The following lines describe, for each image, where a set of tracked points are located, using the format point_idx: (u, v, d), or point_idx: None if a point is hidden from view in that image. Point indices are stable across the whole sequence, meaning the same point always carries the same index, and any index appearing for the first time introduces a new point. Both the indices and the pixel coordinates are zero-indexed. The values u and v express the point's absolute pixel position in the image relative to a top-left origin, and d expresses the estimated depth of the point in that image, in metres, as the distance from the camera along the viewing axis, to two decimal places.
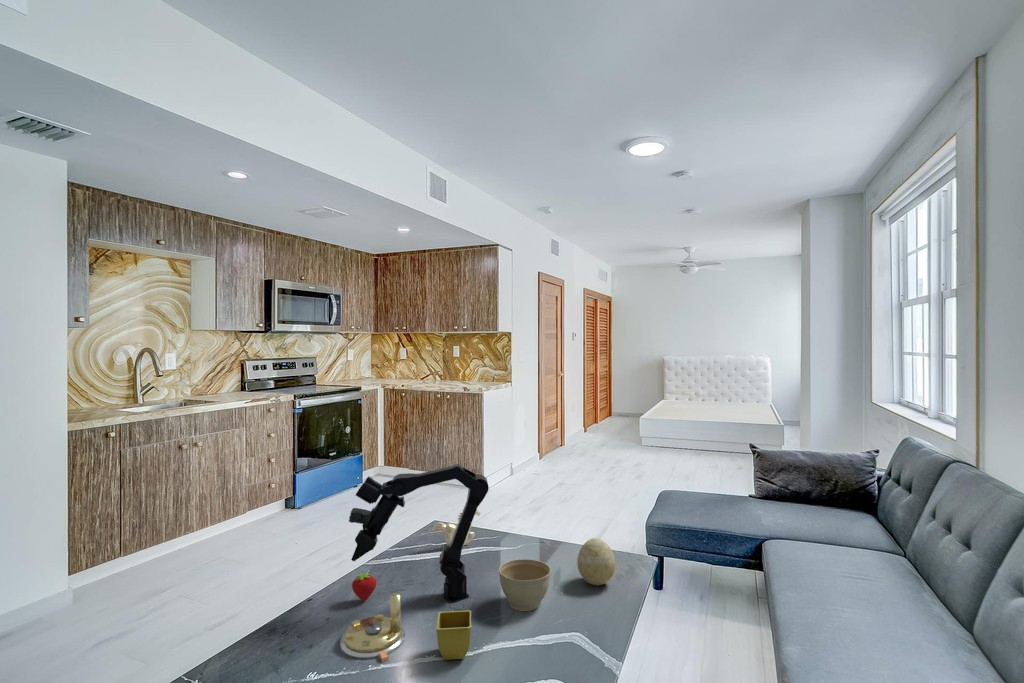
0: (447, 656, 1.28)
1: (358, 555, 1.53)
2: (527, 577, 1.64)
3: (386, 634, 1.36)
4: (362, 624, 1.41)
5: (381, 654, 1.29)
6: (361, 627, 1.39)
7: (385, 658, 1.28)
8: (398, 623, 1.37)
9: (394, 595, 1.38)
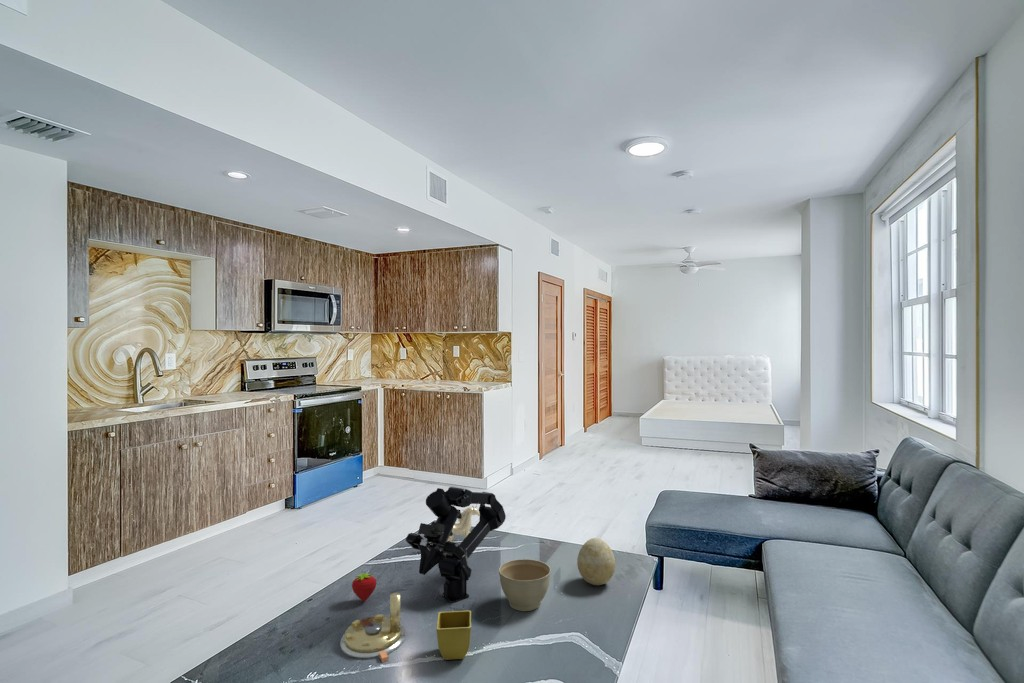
0: (447, 656, 1.28)
1: (430, 567, 1.49)
2: (527, 577, 1.64)
3: (386, 634, 1.36)
4: (362, 624, 1.41)
5: (381, 654, 1.29)
6: (361, 627, 1.39)
7: (385, 658, 1.28)
8: (398, 623, 1.37)
9: (394, 595, 1.38)
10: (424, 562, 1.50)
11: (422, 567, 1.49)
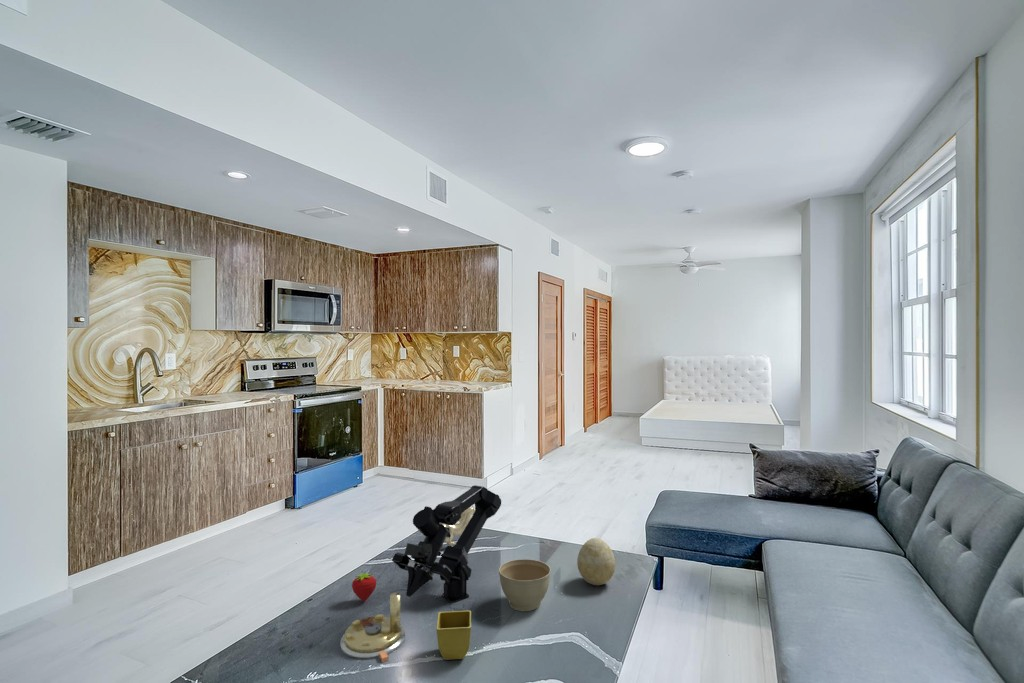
0: (447, 656, 1.28)
1: (416, 588, 1.44)
2: (527, 577, 1.64)
3: (386, 634, 1.36)
4: (362, 624, 1.41)
5: (381, 654, 1.29)
6: (361, 627, 1.39)
7: (385, 658, 1.28)
8: (398, 623, 1.37)
9: (394, 595, 1.38)
10: None
11: None
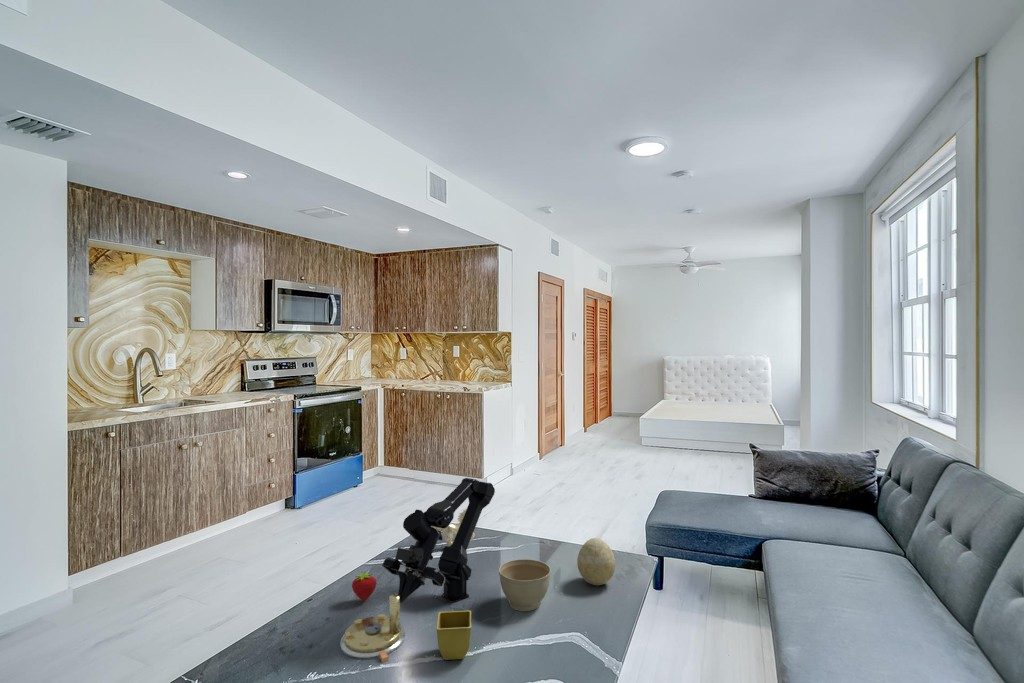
0: (447, 656, 1.28)
1: (408, 594, 1.40)
2: (527, 577, 1.64)
3: (385, 635, 1.35)
4: (363, 624, 1.41)
5: (381, 654, 1.29)
6: (362, 627, 1.39)
7: (385, 658, 1.28)
8: (397, 624, 1.36)
9: (394, 596, 1.37)
10: None
11: None
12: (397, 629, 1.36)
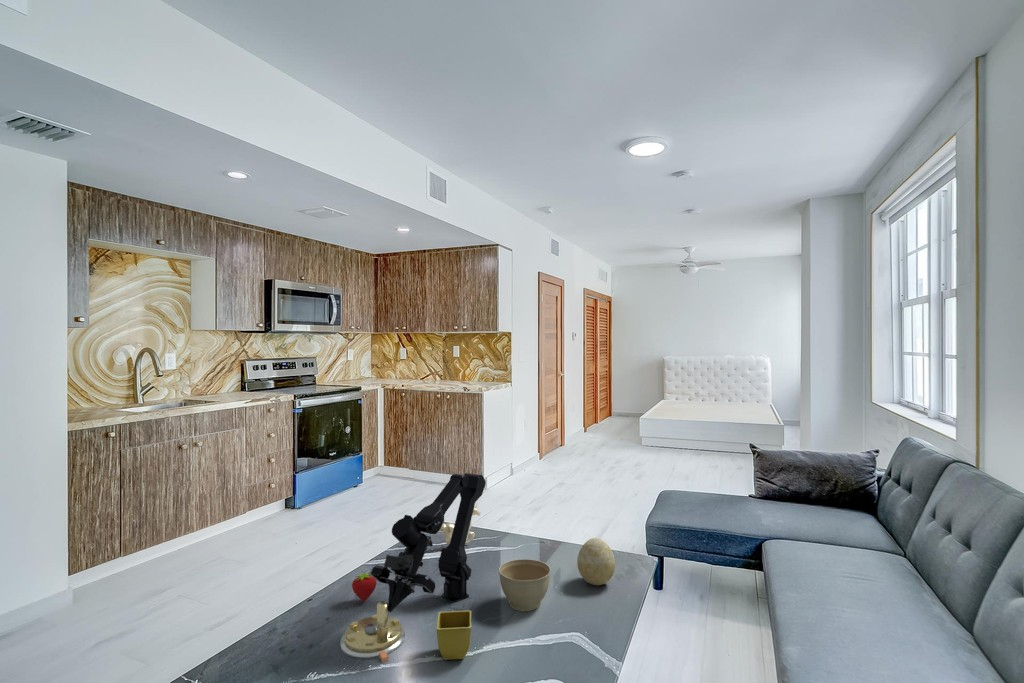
0: (447, 656, 1.28)
1: (397, 603, 1.35)
2: (527, 577, 1.64)
3: (372, 639, 1.33)
4: None
5: (381, 654, 1.29)
6: None
7: (385, 658, 1.28)
8: (380, 634, 1.32)
9: (381, 603, 1.33)
10: None
11: None
12: (380, 639, 1.32)
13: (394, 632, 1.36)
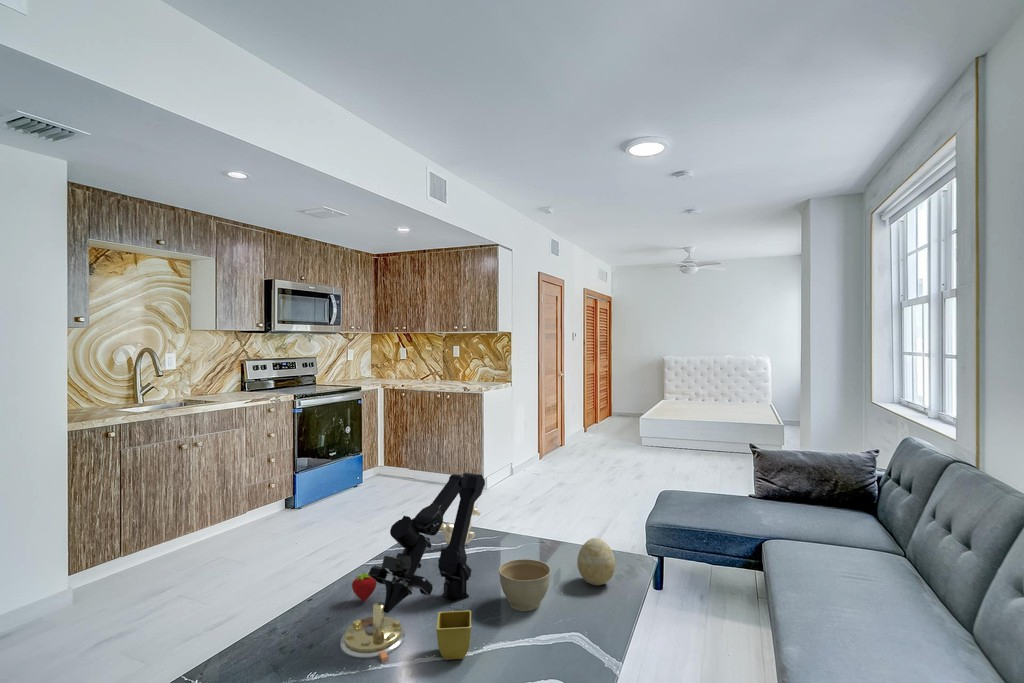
0: (447, 656, 1.28)
1: (394, 604, 1.35)
2: (527, 577, 1.64)
3: (369, 640, 1.33)
4: None
5: (381, 654, 1.29)
6: None
7: (385, 658, 1.28)
8: (376, 635, 1.31)
9: (377, 604, 1.33)
10: None
11: None
12: (376, 640, 1.31)
13: (391, 634, 1.34)
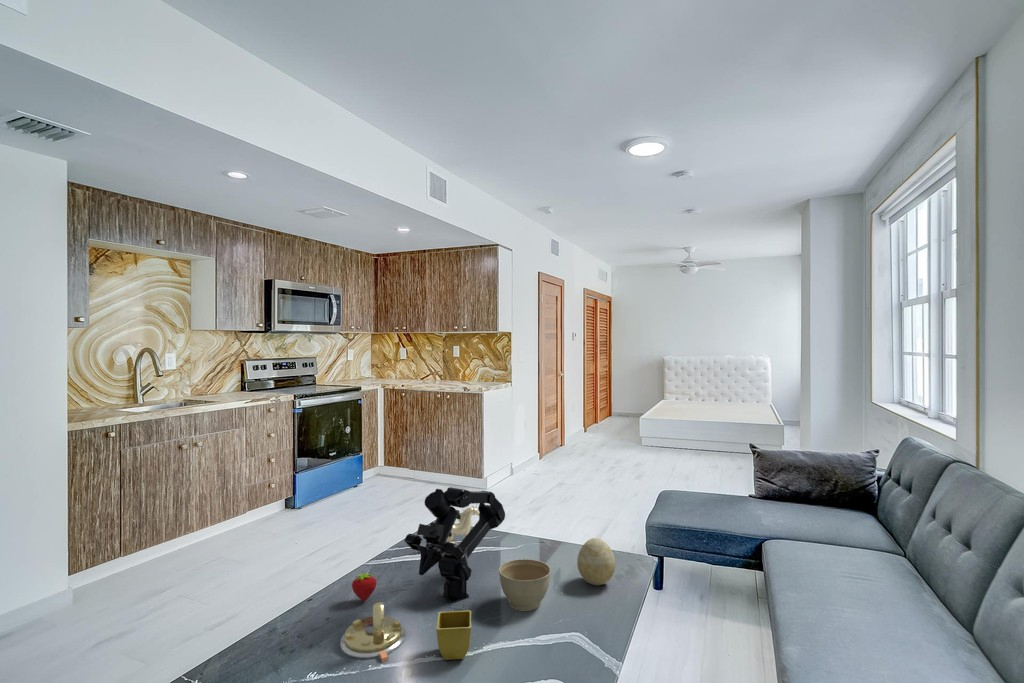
0: (447, 656, 1.28)
1: (428, 567, 1.49)
2: (527, 577, 1.64)
3: (369, 640, 1.33)
4: None
5: (381, 654, 1.29)
6: None
7: (385, 658, 1.28)
8: (376, 635, 1.31)
9: (377, 604, 1.33)
10: None
11: None
12: (376, 640, 1.31)
13: (391, 634, 1.34)
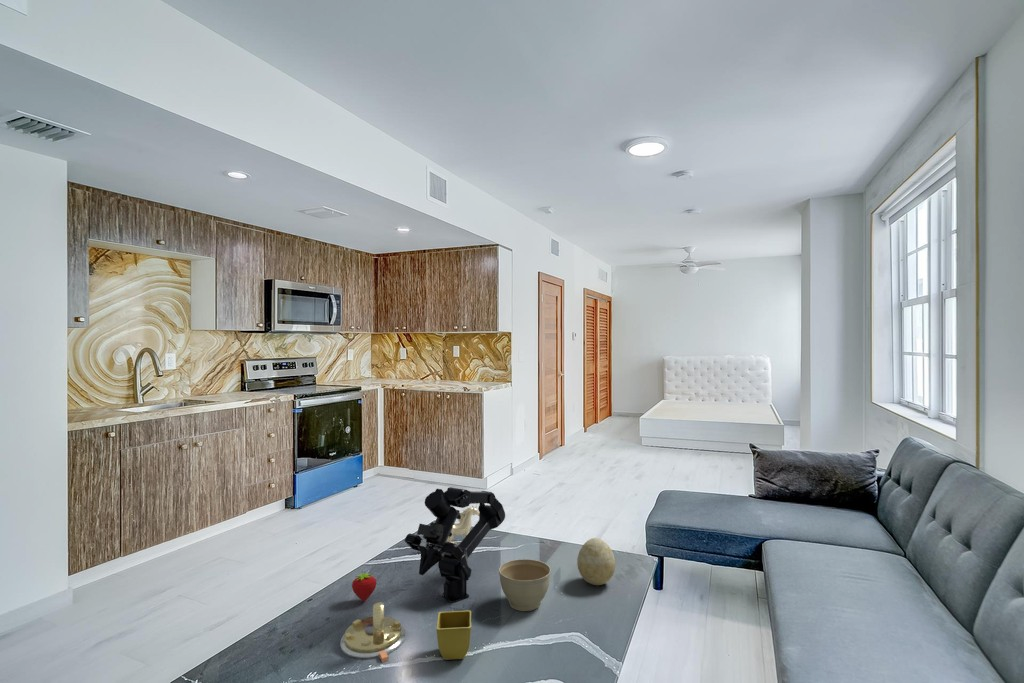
0: (447, 656, 1.28)
1: (428, 567, 1.49)
2: (527, 577, 1.64)
3: (369, 640, 1.33)
4: None
5: (381, 654, 1.29)
6: None
7: (385, 658, 1.28)
8: (376, 635, 1.31)
9: (377, 604, 1.33)
10: None
11: None
12: (376, 640, 1.31)
13: (391, 634, 1.34)
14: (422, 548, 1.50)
